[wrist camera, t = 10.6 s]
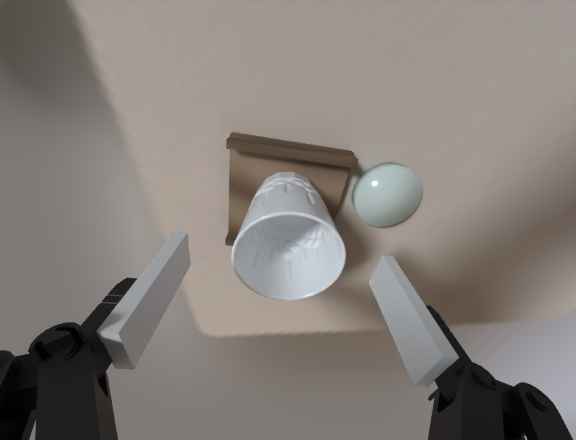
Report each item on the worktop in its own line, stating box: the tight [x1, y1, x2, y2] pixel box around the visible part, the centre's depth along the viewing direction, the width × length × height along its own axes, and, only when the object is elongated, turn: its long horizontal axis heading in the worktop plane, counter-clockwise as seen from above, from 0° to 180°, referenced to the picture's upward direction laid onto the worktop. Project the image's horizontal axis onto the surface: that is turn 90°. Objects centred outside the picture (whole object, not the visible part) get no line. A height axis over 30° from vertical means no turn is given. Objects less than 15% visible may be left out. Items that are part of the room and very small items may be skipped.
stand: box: [226, 132, 358, 246], centre depth 23 cm, size 12×12×3 cm
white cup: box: [231, 172, 346, 300], centre depth 19 cm, size 8×8×10 cm
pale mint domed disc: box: [352, 162, 423, 227], centre depth 24 cm, size 7×7×2 cm
